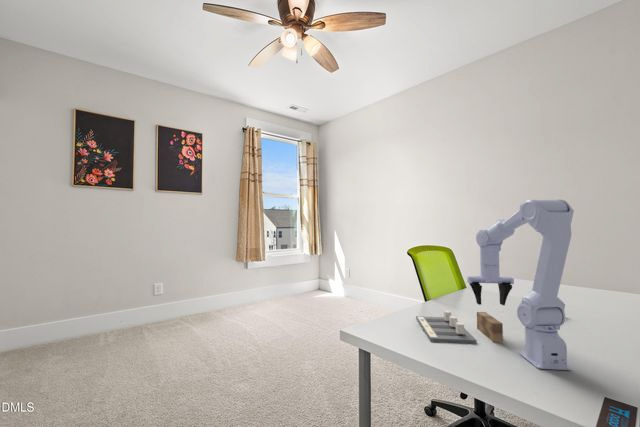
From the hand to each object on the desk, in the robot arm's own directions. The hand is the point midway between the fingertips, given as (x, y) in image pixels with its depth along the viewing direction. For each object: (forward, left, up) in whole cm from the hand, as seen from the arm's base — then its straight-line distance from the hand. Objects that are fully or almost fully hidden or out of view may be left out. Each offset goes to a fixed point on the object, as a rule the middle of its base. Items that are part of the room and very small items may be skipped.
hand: (490, 304), depth 103 cm
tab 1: (+7, +12, -8) cm, 16 cm away
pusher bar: (-3, +2, -10) cm, 10 cm away
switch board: (0, +16, -9) cm, 18 cm away
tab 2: (0, +12, -8) cm, 15 cm away
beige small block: (-6, +12, -8) cm, 16 cm away
